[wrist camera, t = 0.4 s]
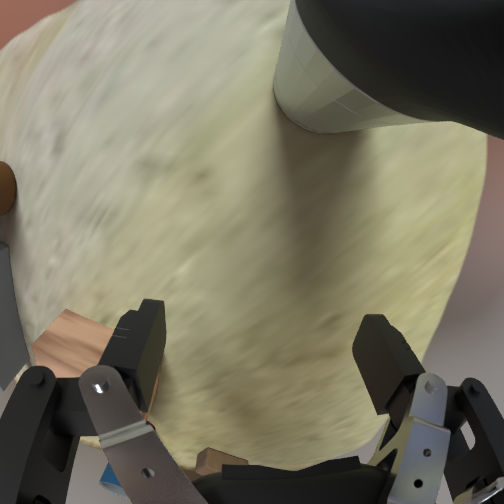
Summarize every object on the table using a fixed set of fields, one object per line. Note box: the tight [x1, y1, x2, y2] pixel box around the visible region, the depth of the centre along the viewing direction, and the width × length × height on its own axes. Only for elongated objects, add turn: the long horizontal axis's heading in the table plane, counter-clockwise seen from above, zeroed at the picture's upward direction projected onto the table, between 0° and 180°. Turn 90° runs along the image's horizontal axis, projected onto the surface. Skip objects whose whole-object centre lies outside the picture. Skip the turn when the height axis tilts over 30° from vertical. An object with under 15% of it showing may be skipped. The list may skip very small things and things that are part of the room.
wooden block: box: [195, 448, 248, 476], centre depth 36 cm, size 9×4×18 cm, turn 56°
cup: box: [99, 421, 155, 499], centre depth 34 cm, size 7×7×15 cm
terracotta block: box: [32, 309, 161, 421], centre depth 31 cm, size 10×15×9 cm, turn 73°
